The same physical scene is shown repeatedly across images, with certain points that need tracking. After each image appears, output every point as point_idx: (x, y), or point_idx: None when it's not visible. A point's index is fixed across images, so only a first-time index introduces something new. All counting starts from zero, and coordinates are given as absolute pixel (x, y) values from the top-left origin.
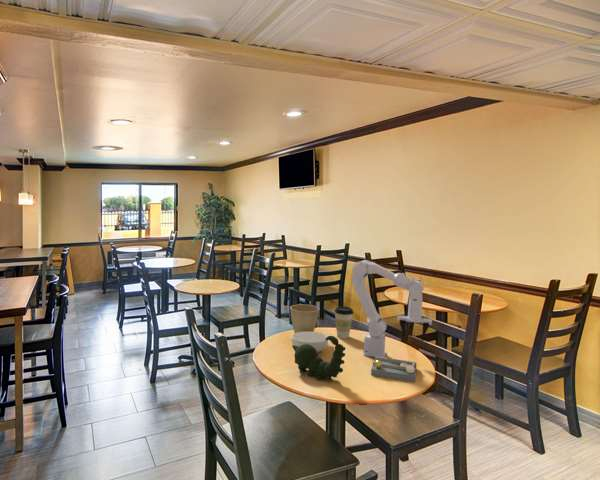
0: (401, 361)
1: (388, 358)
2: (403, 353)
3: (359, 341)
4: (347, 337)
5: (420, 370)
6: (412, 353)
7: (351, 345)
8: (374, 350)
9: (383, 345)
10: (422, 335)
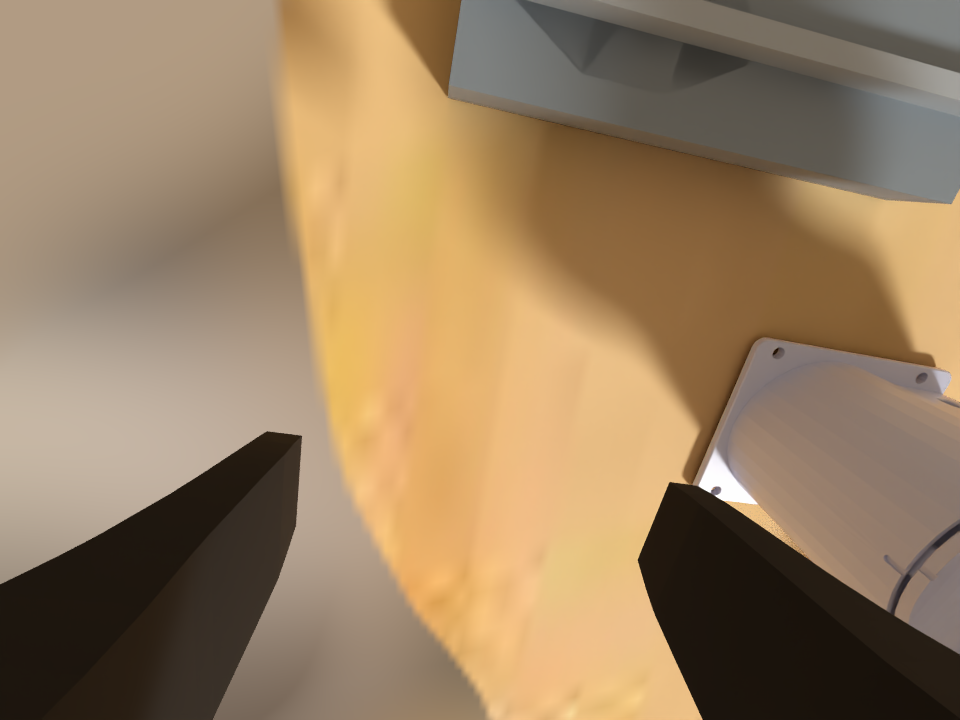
0: (694, 1)
1: (878, 63)
2: (519, 516)
3: None
4: None
5: (397, 50)
6: (431, 536)
7: None
8: (906, 390)
9: (845, 453)
10: (233, 497)
